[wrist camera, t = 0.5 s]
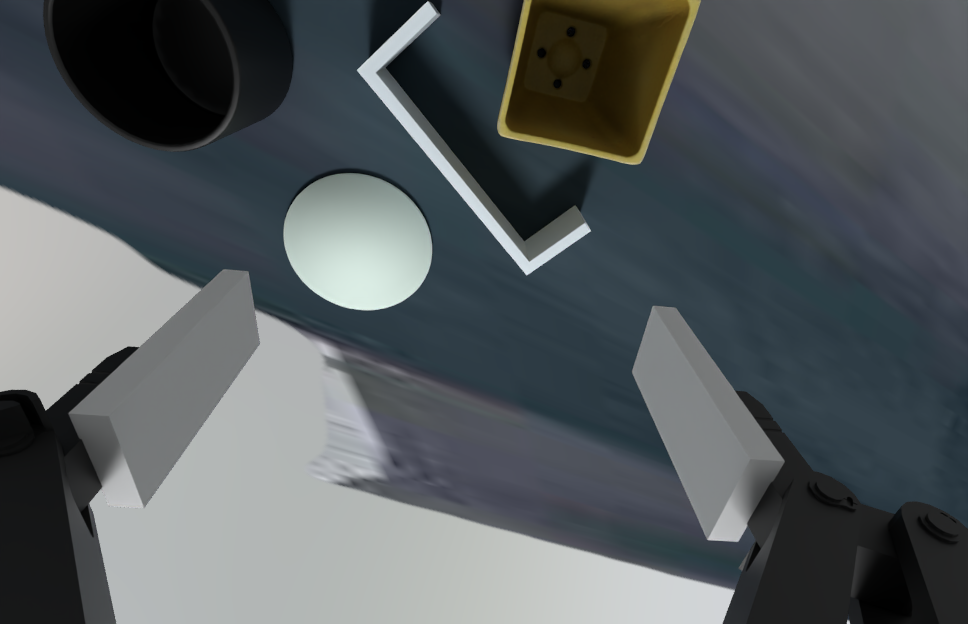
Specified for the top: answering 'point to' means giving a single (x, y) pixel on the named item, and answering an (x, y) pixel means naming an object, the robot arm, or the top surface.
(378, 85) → the bracket
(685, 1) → the flower pot
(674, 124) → the top surface
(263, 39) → the mug
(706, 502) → the robot arm
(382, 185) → the pad
